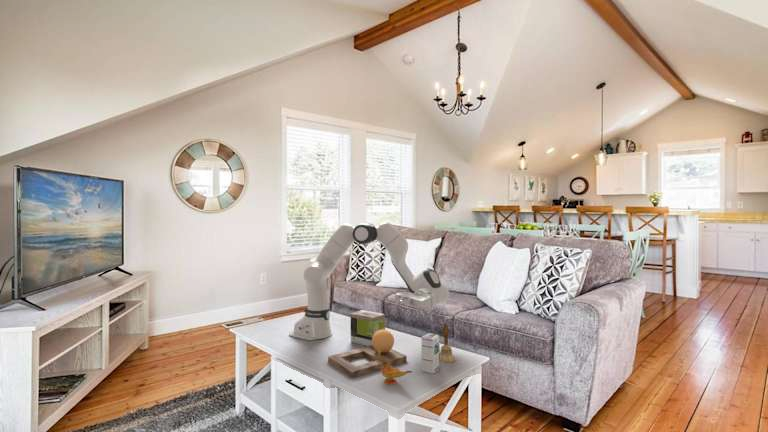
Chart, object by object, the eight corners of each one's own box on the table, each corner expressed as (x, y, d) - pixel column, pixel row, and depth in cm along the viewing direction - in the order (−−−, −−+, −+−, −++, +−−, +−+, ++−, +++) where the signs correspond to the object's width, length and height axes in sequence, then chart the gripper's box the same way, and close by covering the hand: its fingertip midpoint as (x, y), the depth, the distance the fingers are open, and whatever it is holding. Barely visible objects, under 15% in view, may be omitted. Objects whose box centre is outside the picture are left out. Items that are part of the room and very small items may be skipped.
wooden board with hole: (379, 348, 189) (379, 343, 189) (406, 361, 173) (406, 356, 173) (328, 362, 173) (328, 356, 173) (352, 378, 157) (352, 372, 156)
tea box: (385, 342, 197) (385, 313, 197) (373, 348, 189) (373, 318, 189) (362, 336, 206) (362, 308, 206) (349, 342, 198) (349, 313, 198)
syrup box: (434, 374, 161) (434, 338, 160) (421, 370, 164) (421, 336, 163) (439, 369, 165) (440, 334, 165) (427, 366, 169) (427, 332, 168)
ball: (368, 354, 175) (368, 332, 175) (376, 346, 184) (376, 325, 184) (389, 357, 172) (389, 334, 171) (396, 349, 181) (396, 327, 181)
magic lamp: (405, 393, 144) (405, 363, 144) (370, 378, 156) (370, 351, 156) (417, 386, 149) (417, 358, 149) (382, 373, 161) (382, 346, 161)
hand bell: (444, 364, 171) (444, 327, 170) (433, 357, 178) (433, 322, 178) (459, 360, 175) (459, 324, 174) (448, 354, 182) (448, 319, 182)
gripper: (408, 287, 199) (386, 291, 190) (436, 295, 182) (413, 299, 174) (408, 300, 199) (386, 304, 191) (436, 308, 182) (413, 313, 174)
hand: (399, 302), depth 182 cm, fingers closed
